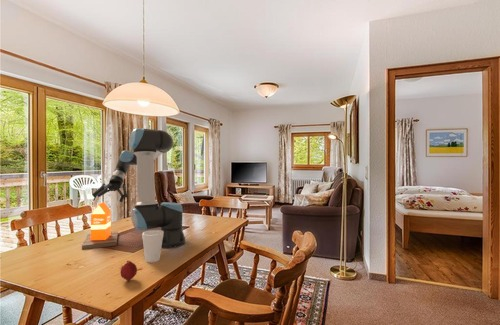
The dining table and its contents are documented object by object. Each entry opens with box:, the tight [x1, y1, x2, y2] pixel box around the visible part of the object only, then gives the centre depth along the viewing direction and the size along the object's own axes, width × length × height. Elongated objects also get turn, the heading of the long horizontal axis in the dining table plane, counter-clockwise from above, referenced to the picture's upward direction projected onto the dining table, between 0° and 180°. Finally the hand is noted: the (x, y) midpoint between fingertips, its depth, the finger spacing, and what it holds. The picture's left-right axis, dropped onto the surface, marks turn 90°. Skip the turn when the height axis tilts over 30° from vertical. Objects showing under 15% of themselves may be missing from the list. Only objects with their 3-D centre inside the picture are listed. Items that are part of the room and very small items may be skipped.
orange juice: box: [90, 201, 112, 240], centre depth 144 cm, size 8×9×20 cm
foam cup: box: [141, 229, 164, 263], centre depth 119 cm, size 10×9×13 cm
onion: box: [120, 260, 138, 282], centre depth 98 cm, size 6×6×8 cm
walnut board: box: [81, 230, 119, 250], centre depth 144 cm, size 22×16×2 cm
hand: (105, 206), depth 149 cm, fingers open, 13 cm apart
